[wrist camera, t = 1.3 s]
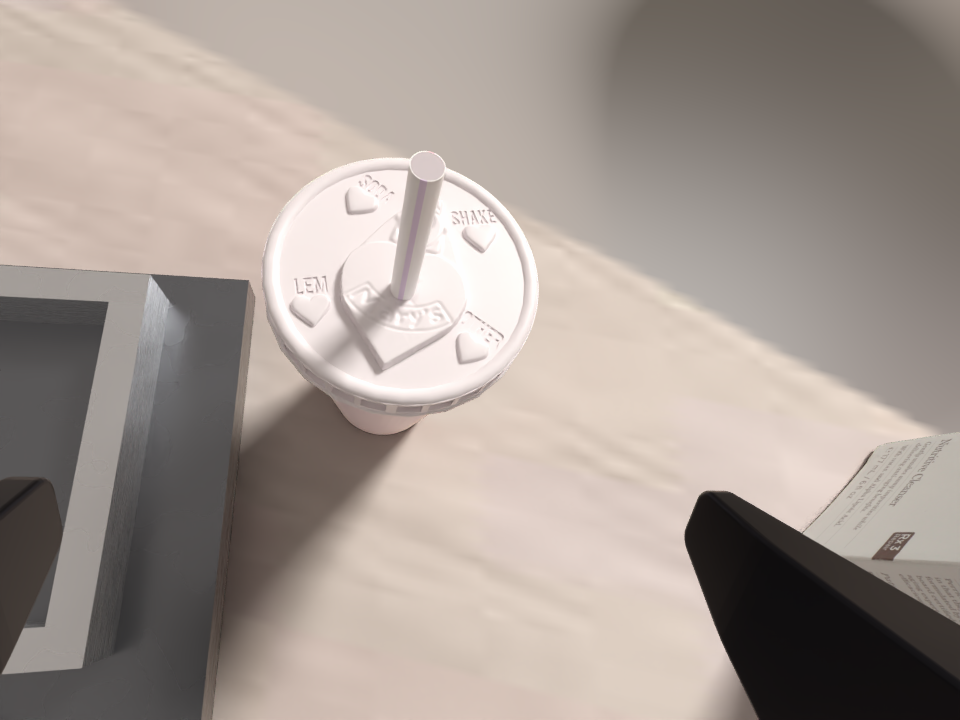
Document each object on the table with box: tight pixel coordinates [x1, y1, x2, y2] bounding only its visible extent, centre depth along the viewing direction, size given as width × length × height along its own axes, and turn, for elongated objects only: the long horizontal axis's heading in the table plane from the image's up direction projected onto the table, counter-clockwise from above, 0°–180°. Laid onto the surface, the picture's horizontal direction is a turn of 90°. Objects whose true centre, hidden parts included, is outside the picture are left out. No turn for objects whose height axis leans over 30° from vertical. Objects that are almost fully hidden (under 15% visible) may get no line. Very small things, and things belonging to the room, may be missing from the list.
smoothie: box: [261, 151, 538, 435], centre depth 15 cm, size 6×6×14 cm
